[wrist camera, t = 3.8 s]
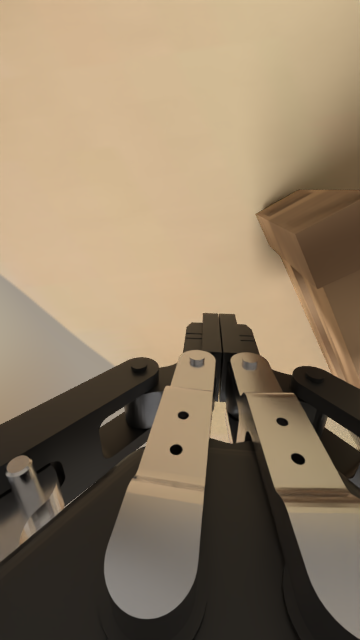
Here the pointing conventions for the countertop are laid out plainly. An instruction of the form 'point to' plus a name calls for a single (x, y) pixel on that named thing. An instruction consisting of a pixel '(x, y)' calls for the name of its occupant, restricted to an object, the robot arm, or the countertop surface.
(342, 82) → the countertop surface
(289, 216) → the gate
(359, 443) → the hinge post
